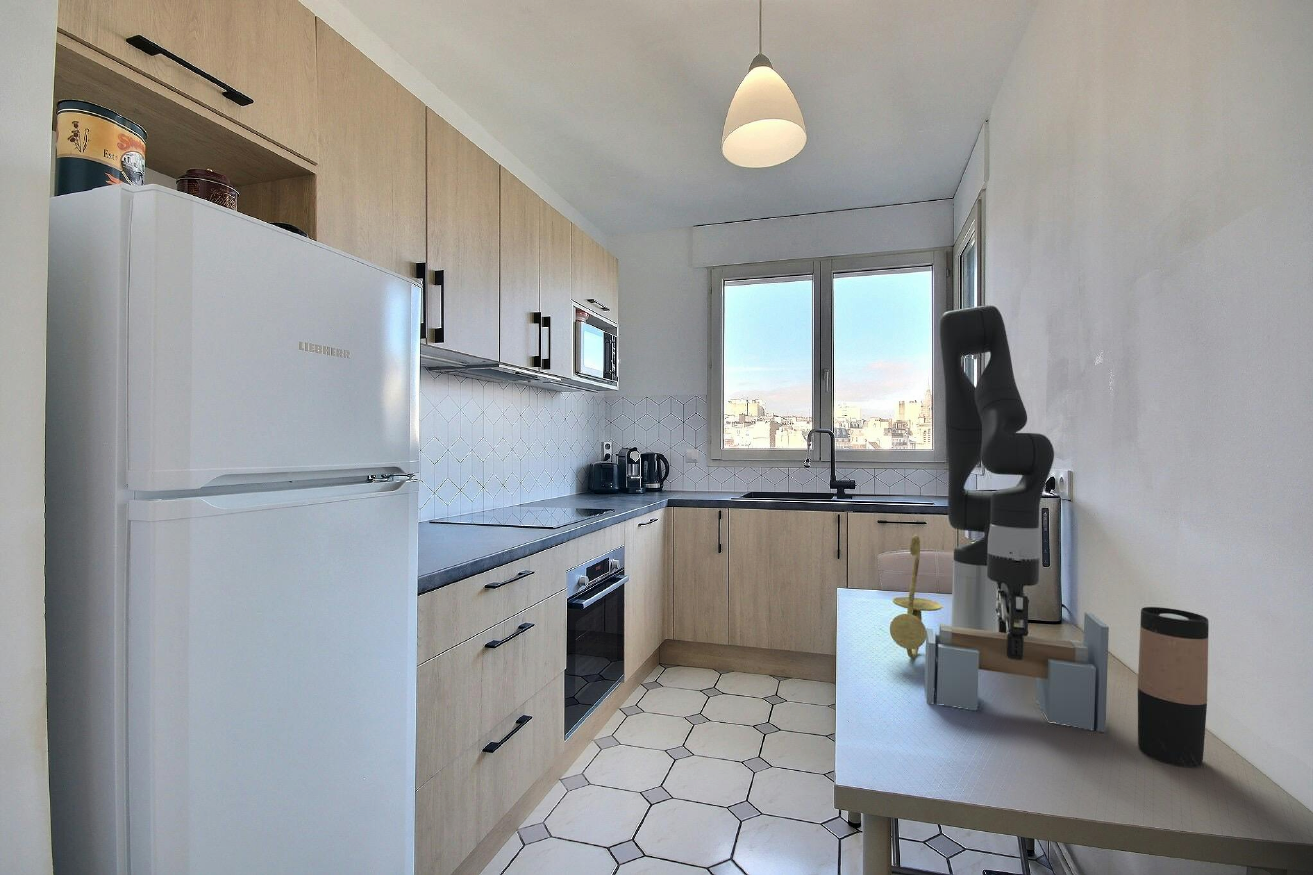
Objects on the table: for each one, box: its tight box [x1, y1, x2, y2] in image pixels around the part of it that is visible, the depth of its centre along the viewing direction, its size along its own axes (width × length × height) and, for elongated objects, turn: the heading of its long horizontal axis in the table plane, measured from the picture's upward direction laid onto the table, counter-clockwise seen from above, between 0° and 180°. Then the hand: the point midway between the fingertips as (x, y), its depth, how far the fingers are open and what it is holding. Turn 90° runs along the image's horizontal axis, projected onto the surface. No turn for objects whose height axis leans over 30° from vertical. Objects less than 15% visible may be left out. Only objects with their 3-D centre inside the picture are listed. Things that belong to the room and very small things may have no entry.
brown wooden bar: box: [938, 623, 1088, 679], centre depth 105 cm, size 4×21×6 cm, turn 69°
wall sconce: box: [889, 534, 944, 659], centre depth 128 cm, size 14×10×25 cm
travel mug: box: [1137, 606, 1210, 768], centre depth 90 cm, size 8×8×20 cm
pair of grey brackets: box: [924, 611, 1110, 733], centre depth 105 cm, size 9×25×16 cm, turn 69°
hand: (1009, 650), depth 105 cm, fingers open, 8 cm apart
